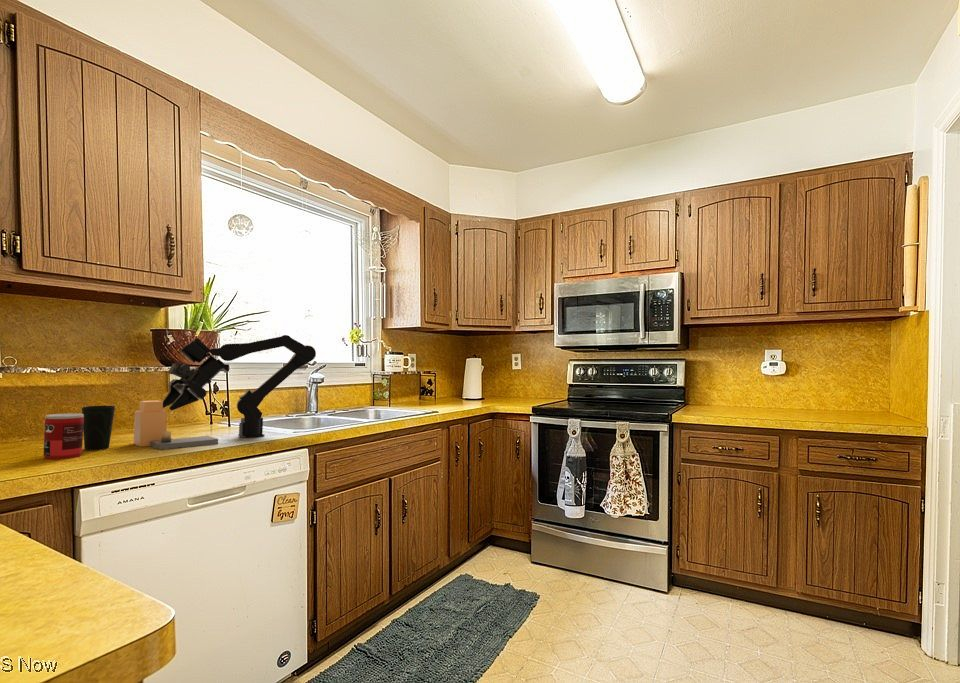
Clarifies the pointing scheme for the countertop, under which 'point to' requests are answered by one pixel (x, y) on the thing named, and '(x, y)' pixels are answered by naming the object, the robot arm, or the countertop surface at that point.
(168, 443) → the board
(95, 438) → the cup
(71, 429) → the canned food
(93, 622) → the countertop surface
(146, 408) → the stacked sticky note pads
